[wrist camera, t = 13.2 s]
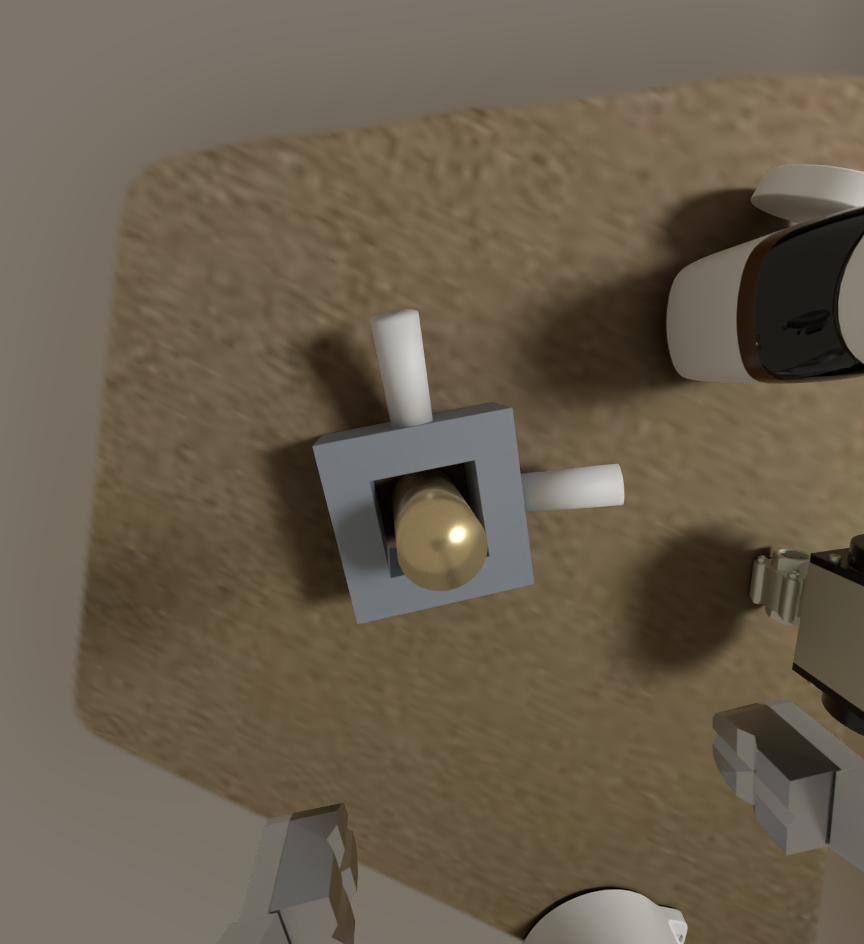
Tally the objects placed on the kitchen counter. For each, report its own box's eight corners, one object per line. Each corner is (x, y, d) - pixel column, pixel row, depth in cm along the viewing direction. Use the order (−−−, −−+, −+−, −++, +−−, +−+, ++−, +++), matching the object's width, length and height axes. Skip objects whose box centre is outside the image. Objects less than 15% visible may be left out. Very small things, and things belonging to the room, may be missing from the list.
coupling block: (593, 538, 30) (642, 575, 24) (360, 590, 28) (356, 641, 23) (574, 287, 25) (627, 264, 20) (297, 334, 24) (273, 323, 19)
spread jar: (647, 391, 28) (830, 405, 16) (637, 204, 25) (851, 65, 14) (809, 357, 29) (1088, 348, 17) (818, 172, 26) (1160, 17, 14)
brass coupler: (461, 522, 28) (493, 580, 20) (398, 536, 28) (406, 599, 20) (451, 461, 27) (480, 497, 19) (385, 474, 27) (388, 517, 19)
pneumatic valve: (733, 643, 34) (918, 786, 22) (749, 508, 31) (972, 592, 19) (794, 633, 34) (1006, 767, 23) (815, 500, 31) (1070, 576, 20)
